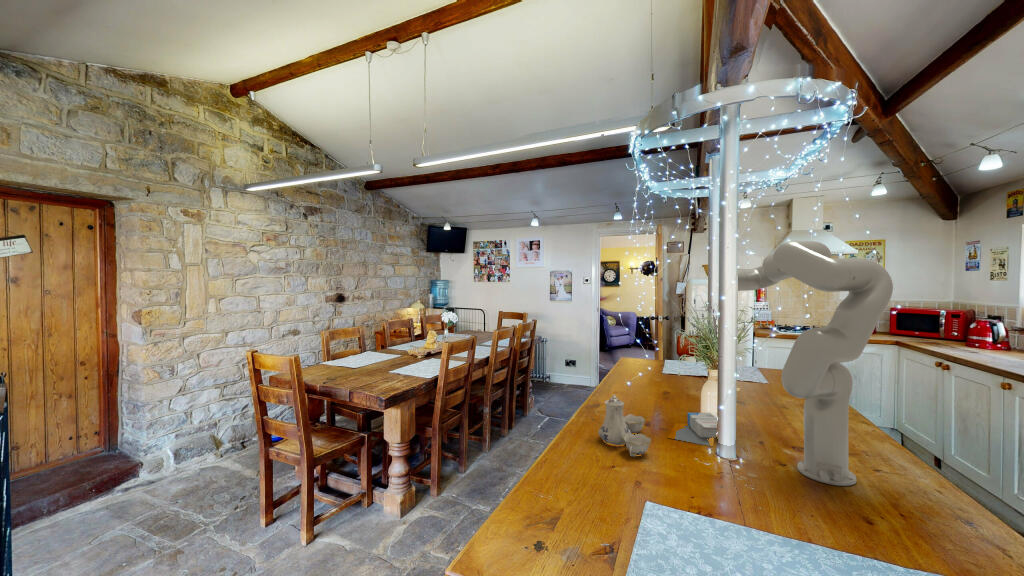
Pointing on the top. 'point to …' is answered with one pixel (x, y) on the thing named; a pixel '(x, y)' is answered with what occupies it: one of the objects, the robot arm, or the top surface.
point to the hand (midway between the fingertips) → (722, 355)
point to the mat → (690, 436)
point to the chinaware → (623, 428)
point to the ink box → (703, 424)
